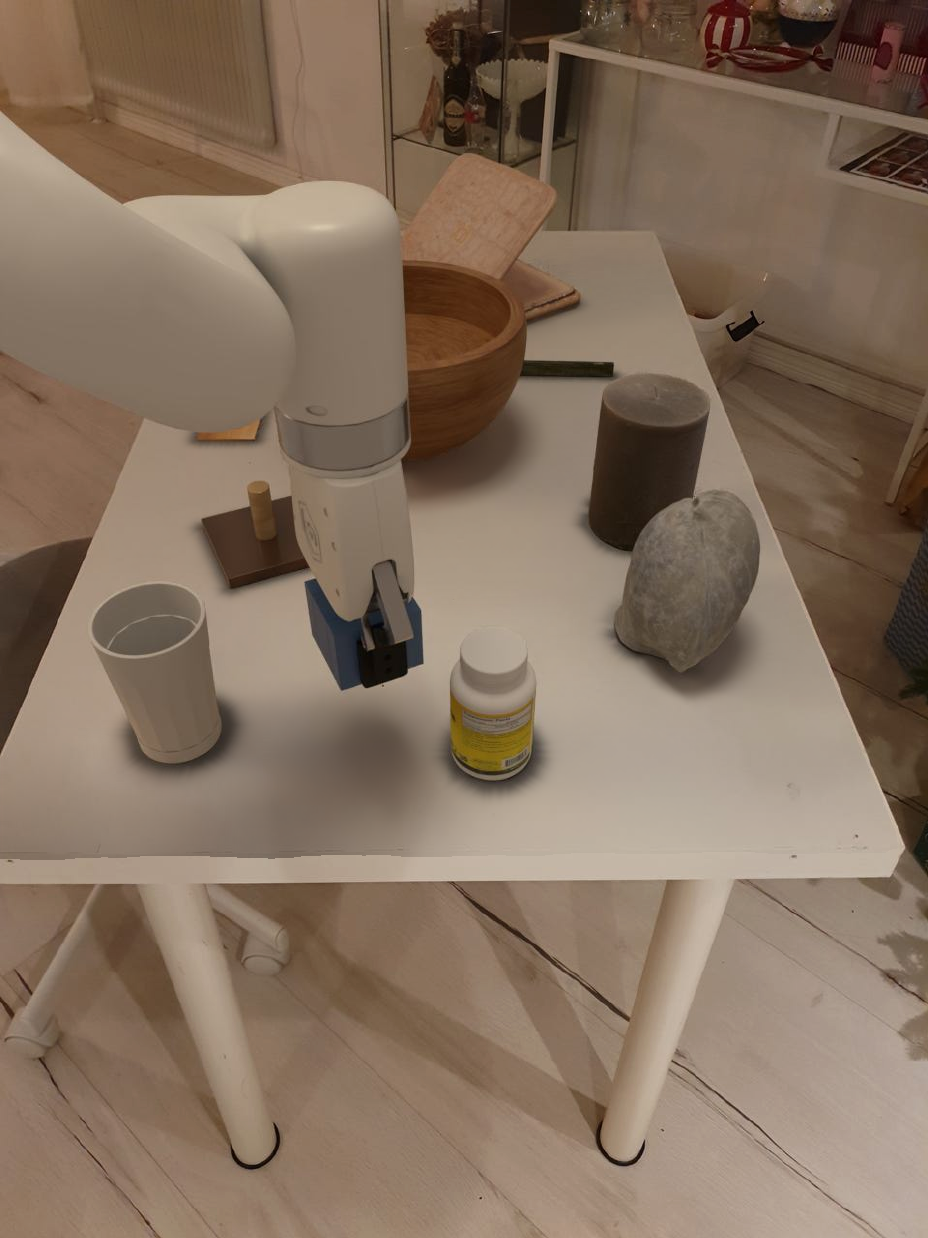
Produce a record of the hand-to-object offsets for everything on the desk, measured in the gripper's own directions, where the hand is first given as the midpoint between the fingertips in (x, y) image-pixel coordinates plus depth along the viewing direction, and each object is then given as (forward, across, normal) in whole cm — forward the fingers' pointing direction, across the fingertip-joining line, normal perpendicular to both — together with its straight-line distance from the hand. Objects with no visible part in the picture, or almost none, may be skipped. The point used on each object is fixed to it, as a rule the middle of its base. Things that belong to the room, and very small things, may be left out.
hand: (366, 645), depth 67 cm
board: (+11, -53, +4) cm, 54 cm away
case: (+11, -68, +42) cm, 81 cm away
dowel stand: (+11, -28, 0) cm, 30 cm away
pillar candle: (+11, -16, +34) cm, 39 cm away
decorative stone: (+11, -1, +28) cm, 30 cm away
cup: (+11, -8, -13) cm, 19 cm away
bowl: (+11, -39, +19) cm, 45 cm away
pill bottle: (+11, +4, +8) cm, 14 cm away
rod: (+11, -49, +33) cm, 60 cm away
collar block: (0, 0, 0) cm, 0 cm away
